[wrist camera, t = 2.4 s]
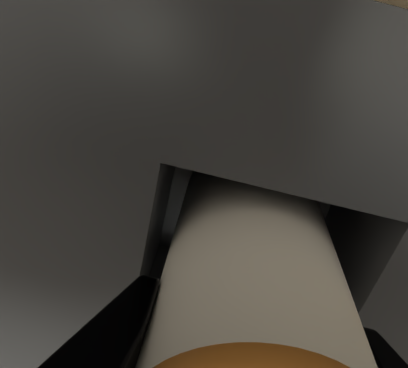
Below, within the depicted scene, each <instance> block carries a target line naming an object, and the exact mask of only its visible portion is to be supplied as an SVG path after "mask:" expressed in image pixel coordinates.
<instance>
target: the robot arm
mask: <svg viewBox="0 0 408 368" xmlns="http://www.w3.org/2000/svg"><path fill="white" fill-rule="evenodd" d="M159 285H160V280H159V279H158V278H154V277H150V276H146V275H140V276H139V277H137V278H136V279H135V280H134V281H133V282H132V283H131V284H130V285H129V286H127V287H126V288H125V289H124V290H123V291H122V292H121V293H120V294H119V295H117V296H116V297H115V298H114V299H113V300H112V301H111V302H110V303H109V304H107V305H106V306H105V307H104V308H103V309H102V310H101V311H100V312H99V313H97V314H96V315H95V316H94V317H93V318H92V319H91V320H90V321H89V322H87V323H86V324H85V325H84V326H83V327H82V328H81V329H80V330H79V331H77V332H76V333H75V334H74V335H73V336H72V337H71V338H70V339H69V340H67V341H66V342H65V343H64V344H63V345H62V346H61V347H60V348H59V349H57V350H56V351H55V352H54V353H53V354H52V355H51V356H50V357H49V358H47V359H46V360H45V361H44V362H43V363H42V364H41V365H40V366H39V367H37V368H135V366H136V363H137V360H138V357H139V353H140V350H141V347H142V344H143V341H144V337H145V334H146V331H147V327H148V324H149V320H150V317H151V313H152V310H153V306H154V303H155V299H156V296H157V292H158V289H159ZM363 328H364V331H365V334H366V337H367V339H368V342H369V345H370V348H371V351H372V353H373V356H374V359H375V362H376V364H377V367H378V368H408V364H407V363H406V362H405V361H404V360H403V359H402V358H401V357H400V355H399V354H398V353H397V352H396V351H395V350H394V349H393V348H392V347H391V346H390V345H389V344H388V342H387V341H386V340H385V339H384V338H383V337H382V336H381V335H380V334H379V333H378V332H377V331H376V330H374V329H370V328H366V327H363Z"/></svg>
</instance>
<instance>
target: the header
mask: <svg viewBox="0 0 408 368" xmlns="http://www.w3.org/2000/svg"><path fill="white" fill-rule="evenodd" d="M193 171H196V172H200V173H204V174H208V175H213V176H217V177H221V178H225V179H229V180H233V181H237V182H241V183H246V184H250V185H254V186H258V187H262V188H266V189H270V190H274V191H279V192H283V193H287V194H291V195H295V196H299V197H303V198H307V199H311V200H316V201H318V203H319V206H320V209H321V212H322V214H323V217H324V220H325V223H326V226H327V228H328V231H329V234H330V237H331V239H332V242H333V245H334V248H335V251H336V253H337V256H338V259H339V262H340V264H341V267H342V270H343V273H344V276H345V278H346V281H347V284H348V287H349V289H350V292H351V295H352V298H353V301H354V303H355V306H356V309H357V312H358V314H359V317H360V320H361V323H362V326H363V327H366V328H370V329H374V330H376V331H377V332H378V333H379V334H380V335H381V336H382V337H383V338H384V339H385V340H386V341H387V342H388V344H389V345H390V346H391V347H392V348H393V349H394V350H395V351H396V352H397V353H398V354H399V355H400V357H401V358H402V359H403V360H404V361H405V362H406V363H407V364H408V9H405V8H401V7H397V6H393V5H389V4H385V3H382V2H378V1H374V0H0V368H37V367H39V366H40V365H41V364H42V363H43V362H44V361H45V360H46V359H47V358H49V357H50V356H51V355H52V354H53V353H54V352H55V351H56V350H57V349H59V348H60V347H61V346H62V345H63V344H64V343H65V342H66V341H67V340H69V339H70V338H71V337H72V336H73V335H74V334H75V333H76V332H77V331H79V330H80V329H81V328H82V327H83V326H84V325H85V324H86V323H87V322H89V321H90V320H91V319H92V318H93V317H94V316H95V315H96V314H97V313H99V312H100V311H101V310H102V309H103V308H104V307H105V306H106V305H107V304H109V303H110V302H111V301H112V300H113V299H114V298H115V297H116V296H117V295H119V294H120V293H121V292H122V291H123V290H124V289H125V288H126V287H127V286H129V285H130V284H131V283H132V282H133V281H134V280H135V279H136V278H137V277H139V276H140V275H146V276H150V277H154V278H158V279H159V280H160V279H161V276H162V272H163V269H164V265H165V262H166V259H167V255H168V252H169V248H170V245H171V241H172V238H173V234H174V231H175V227H176V224H177V220H178V217H179V213H180V210H181V206H182V203H183V199H184V196H185V192H186V189H187V185H188V182H189V179H190V177H191V175H192V173H193Z"/></svg>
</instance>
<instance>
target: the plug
mask: <svg viewBox="0 0 408 368" xmlns="http://www.w3.org/2000/svg"><path fill="white" fill-rule="evenodd" d="M135 368H378V367H377V364H376V362H375V359H374V356H373V353H372V351H371V348H370V345H369V342H368V339H367V337H366V334H365V331H364V328H363V326H362V323H361V320H360V317H359V314H358V312H357V309H356V306H355V303H354V301H353V298H352V295H351V292H350V289H349V287H348V284H347V281H346V278H345V276H344V273H343V270H342V267H341V264H340V262H339V259H338V256H337V253H336V251H335V248H334V245H333V242H332V239H331V237H330V234H329V231H328V228H327V226H326V223H325V220H324V217H323V214H322V212H321V209H320V206H319V203H318V201H316V200H311V199H307V198H303V197H299V196H295V195H291V194H287V193H283V192H279V191H274V190H270V189H266V188H262V187H258V186H254V185H250V184H246V183H241V182H237V181H233V180H229V179H225V178H221V177H217V176H213V175H208V174H204V173H200V172H196V171H193V173H192V175H191V177H190V179H189V182H188V185H187V189H186V192H185V196H184V199H183V203H182V206H181V210H180V213H179V217H178V220H177V224H176V227H175V231H174V234H173V238H172V241H171V245H170V248H169V252H168V255H167V259H166V262H165V265H164V269H163V272H162V276H161V279H160V285H159V289H158V292H157V296H156V299H155V303H154V306H153V310H152V313H151V317H150V320H149V324H148V327H147V331H146V334H145V337H144V341H143V344H142V347H141V350H140V353H139V357H138V360H137V363H136V366H135Z"/></svg>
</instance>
